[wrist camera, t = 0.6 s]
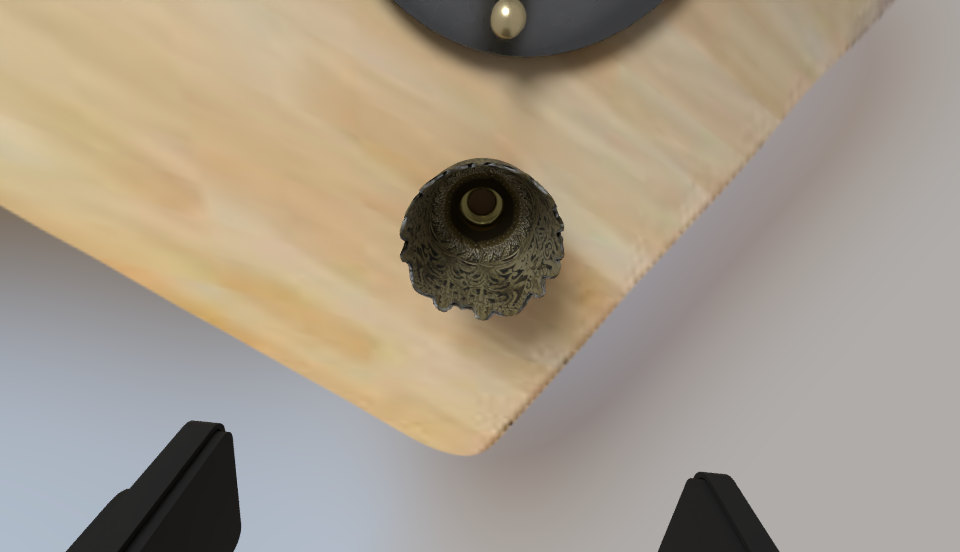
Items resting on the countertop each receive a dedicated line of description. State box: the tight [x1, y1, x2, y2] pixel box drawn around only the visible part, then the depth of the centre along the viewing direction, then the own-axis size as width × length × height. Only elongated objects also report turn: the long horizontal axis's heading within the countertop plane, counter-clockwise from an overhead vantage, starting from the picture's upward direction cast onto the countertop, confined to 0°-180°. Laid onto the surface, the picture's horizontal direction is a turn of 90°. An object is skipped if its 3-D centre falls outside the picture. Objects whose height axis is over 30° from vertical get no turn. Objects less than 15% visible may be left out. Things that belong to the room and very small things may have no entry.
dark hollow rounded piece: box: [400, 158, 564, 320], centre depth 24 cm, size 8×7×8 cm
